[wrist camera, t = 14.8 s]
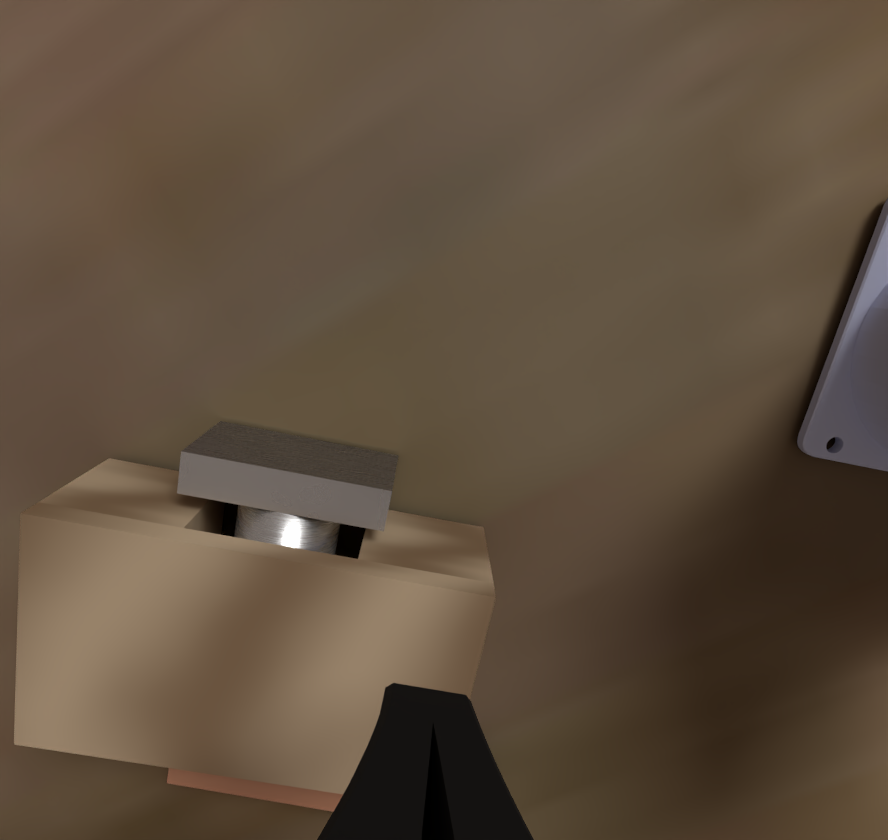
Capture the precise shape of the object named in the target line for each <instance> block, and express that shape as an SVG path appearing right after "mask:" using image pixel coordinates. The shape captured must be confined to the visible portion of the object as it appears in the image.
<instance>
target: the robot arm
mask: <svg viewBox="0 0 888 840" xmlns="http://www.w3.org/2000/svg"><path fill="white" fill-rule="evenodd" d="M833 437H835V444H834V445H833V446H832V447H831V448H829V449H827V448H826V446H827V442H828V441H829V440H830V439H831V438H833ZM797 444H798V447H799V448H800V450H801V451H802V452H804V453H806V454H808V455H810V456H813V457H817V458H822V459H827V460H832V461H837V462H842V463H847V464H852V465H857V466H862V467H867V468H872V469H877V470H882V471H887V472H888V199H887V200H886V202H885V204H884V206H883V209H882V211H881V214H880V217H879V219H878V222H877V225H876V227H875V230H874V233H873V236H872V238H871V241H870V244H869V246H868V249H867V252H866V254H865V257H864V260H863V262H862V265H861V268H860V270H859V273H858V276H857V279H856V281H855V284H854V287H853V289H852V292H851V295H850V297H849V300H848V303H847V305H846V308H845V311H844V313H843V316H842V319H841V322H840V324H839V327H838V330H837V332H836V335H835V338H834V340H833V343H832V346H831V348H830V351H829V354H828V357H827V359H826V362H825V365H824V367H823V370H822V373H821V375H820V378H819V381H818V383H817V386H816V389H815V391H814V394H813V397H812V400H811V402H810V405H809V408H808V410H807V413H806V416H805V418H804V421H803V424H802V426H801V429H800V432H799V434H798V439H797ZM317 840H534V839H533V837H532V836H531V834H530V832H529V830H528V828H527V826H526V824H525V822H524V820H523V818H522V816H521V814H520V812H519V810H518V808H517V806H516V804H515V802H514V800H513V798H512V796H511V794H510V792H509V790H508V788H507V786H506V784H505V782H504V780H503V778H502V775H501V773H500V771H499V769H498V767H497V764H496V762H495V760H494V758H493V755H492V753H491V751H490V748H489V746H488V744H487V741H486V739H485V737H484V734H483V732H482V729H481V727H480V724H479V722H478V719H477V717H476V714H475V711H474V709H473V706H472V703H471V701H470V700H469V698H468V697H467V695H464V694H458V693H452V692H446V691H440V690H434V689H428V688H422V687H416V686H410V685H404V684H398V683H392V684H391V685H389V686H387V687H385V691H384V696H383V701H382V705H381V710H380V715H379V718H378V720H377V723H376V726H375V728H374V731H373V733H372V736H371V738H370V741H369V743H368V746H367V748H366V750H365V752H364V754H363V756H362V758H361V760H360V762H359V764H358V766H357V769H356V771H355V773H354V775H353V777H352V779H351V781H350V783H349V785H348V787H347V789H346V790H345V792H344V794H343V796H342V798H341V799H340V801H339V803H338V805H337V806H336V808H335V810H334V812H333V813H332V815H331V817H330V819H329V820H328V822H327V824H326V826H325V827H324V829H323V831H322V833H321V834H320V836H319V838H318V839H317Z"/></svg>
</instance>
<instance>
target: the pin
mask: <svg viewBox="0 0 888 840" xmlns="http://www.w3.org/2000/svg"><path fill="white" fill-rule="evenodd" d="M397 461H398V455H393V454H388V453H382V452H377V451H372V450H367V449H362V448H357V447H351V446H346V445H341V444H336V443H331V442H326V441H320V440H315V439H310V438H305V437H300V436H295V435H289V434H284V433H279V432H274V431H269V430H263V429H258V428H253V427H248V426H243V425H238V424H232V423H227V422H222V421H220V422H219V423H217V424H216V425H215V426H213V427H212V428H211V429H210V430H208V431H207V432H206V433H204V434H203V435H202V436H200V437H199V438H198V439H197V440H195V441H194V442H193V443H191V444H190V445H189V446H188V447H186V448H185V449H184V450H182V451H181V459H180V468H179V478H178V488H177V493H178V494H183V495H189V496H194V497H200V498H205V499H210V500H216V501H221V502H227V503H232V504H237V505H238V511H237V518H236V526H235V534H234V537H237V538H242V539H248V540H254V541H259V542H265V543H270V544H276V545H282V546H287V547H293V548H299V549H304V550H310V551H315V552H321V553H327V554H332V555H335V552H336V547H337V541H338V536H339V530H340V524H346V525H351V526H357V527H362V528H368V529H373V530H379V531H384V529H385V524H386V519H387V514H388V509H389V504H390V499H391V494H392V488H393V483H394V477H395V472H396V466H397Z"/></svg>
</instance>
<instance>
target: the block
mask: <svg viewBox="0 0 888 840" xmlns="http://www.w3.org/2000/svg"><path fill="white" fill-rule="evenodd" d="M178 478H179V471H175V470H170V469H165V468H159V467H154V466H148V465H143V464H137V463H132V462H127V461H121V460H116V459H110V458H109V459H107V460H106V461H104V462H102V463H101V464H99V465H98V466H96V467H94V468H93V469H91V470H90V471H88V472H86V473H85V474H83V475H81V476H80V477H78V478H77V479H75V480H73V481H72V482H70V483H69V484H67V485H65V486H64V487H62V488H61V489H59V490H57V491H56V492H54V493H52V494H51V495H49V496H48V497H46V498H44V499H43V500H41V501H40V502H38V503H36V504H35V505H33V506H32V507H30V508H28V509H27V510H25V511H23V512H22V513H20V549H19V584H18V620H17V656H16V692H15V727H14V744H15V745H21V746H28V747H34V748H41V749H47V750H54V751H61V752H67V753H74V754H80V755H87V756H94V757H100V758H107V759H113V760H120V761H127V762H133V763H140V764H146V765H153V766H159V767H166V768H173V769H179V770H186V771H192V772H199V773H206V774H212V775H219V776H225V777H232V778H239V779H245V780H252V781H258V782H265V783H271V784H278V785H285V786H291V787H298V788H304V789H311V790H318V791H324V792H331V793H337V794H344V792H345V790H346V789H347V787H348V785H349V783H350V781H351V779H352V777H353V775H354V773H355V771H356V769H357V766H358V764H359V762H360V760H361V758H362V756H363V754H364V752H365V750H366V748H367V746H368V743H369V741H370V738H371V736H372V733H373V731H374V728H375V726H376V723H377V720H378V718H379V715H380V710H381V705H382V701H383V696H384V691H385V687H387V686H389V685H391V684H392V683H398V684H404V685H410V686H416V687H422V688H428V689H434V690H440V691H446V692H452V693H458V694H464V695H467V697H468V698H469V700H470V697H471V693H472V689H473V685H474V681H475V677H476V674H477V670H478V666H479V662H480V658H481V654H482V650H483V646H484V642H485V638H486V635H487V631H488V627H489V623H490V619H491V615H492V611H493V607H494V603H495V599H496V594H495V589H494V583H493V577H492V572H491V566H490V561H489V555H488V550H487V544H486V538H485V533H484V527H479V526H474V525H469V524H463V523H458V522H452V521H447V520H441V519H436V518H431V517H425V516H420V515H414V514H409V513H403V512H398V511H393V510H388V514H387V519H386V524H385V529H384V531H379V530H373V529H368V528H366V530H365V534H364V537H363V541H362V545H361V549H360V553H359V557H358V559H355V558H349V557H343V556H338V555H332V554H327V553H321V552H315V551H310V550H304V549H299V548H293V547H287V546H282V545H276V544H270V543H265V542H259V541H254V540H248V539H242V538H237V537H231V536H226V535H221V533H222V525H223V516H224V508H225V502H221V501H216V500H210V499H205V498H200V497H194V496H189V495H183V494H178V493H177V488H178Z"/></svg>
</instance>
